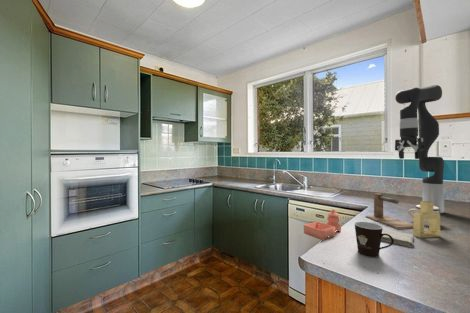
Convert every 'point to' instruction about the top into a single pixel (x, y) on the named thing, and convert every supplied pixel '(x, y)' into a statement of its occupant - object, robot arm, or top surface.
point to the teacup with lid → (426, 221)
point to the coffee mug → (369, 238)
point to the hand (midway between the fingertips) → (409, 158)
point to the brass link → (426, 213)
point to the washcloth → (398, 238)
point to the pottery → (324, 227)
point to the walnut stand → (384, 219)
